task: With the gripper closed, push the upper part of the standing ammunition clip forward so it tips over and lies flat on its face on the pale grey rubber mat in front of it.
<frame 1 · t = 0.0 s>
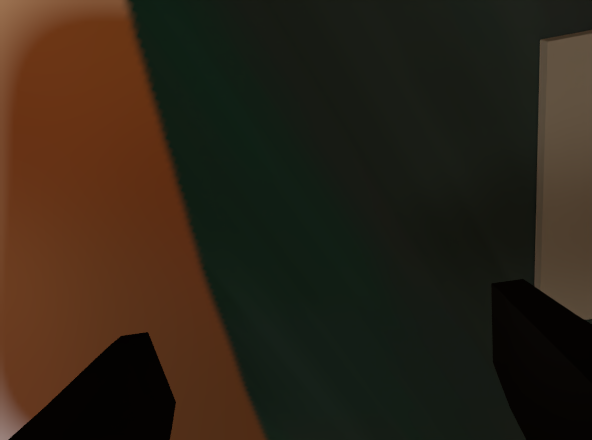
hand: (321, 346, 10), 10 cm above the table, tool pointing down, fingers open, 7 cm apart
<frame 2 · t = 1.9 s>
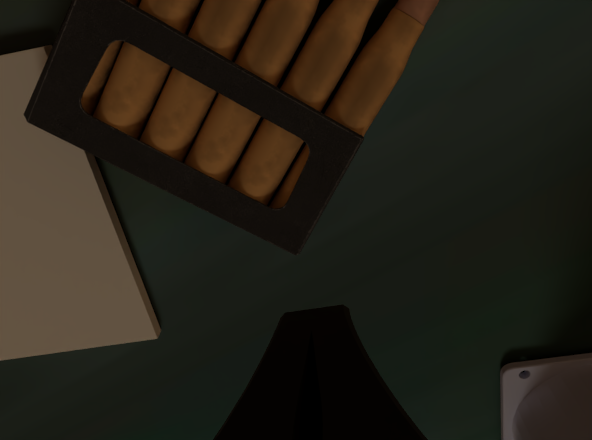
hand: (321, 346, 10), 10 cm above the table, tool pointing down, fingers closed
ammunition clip: (171, 188, 19), point 1 cm above the table, touching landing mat
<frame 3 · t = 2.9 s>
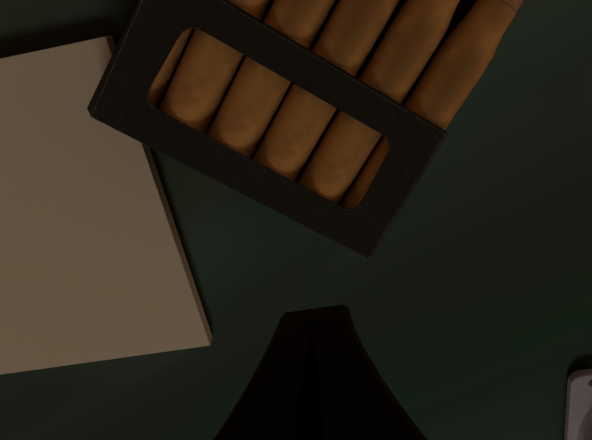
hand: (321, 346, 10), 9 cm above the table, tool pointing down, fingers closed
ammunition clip: (236, 187, 18), point 1 cm above the table, touching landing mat
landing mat: (28, 231, 20), on the table
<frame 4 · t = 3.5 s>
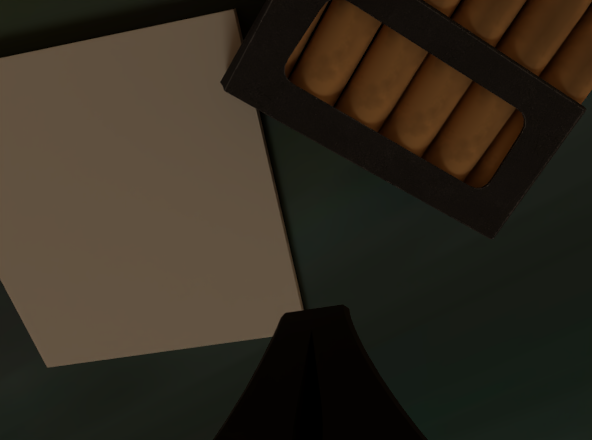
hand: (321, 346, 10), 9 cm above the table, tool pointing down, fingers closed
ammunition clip: (358, 166, 17), point 1 cm above the table, touching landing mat
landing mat: (128, 213, 20), on the table
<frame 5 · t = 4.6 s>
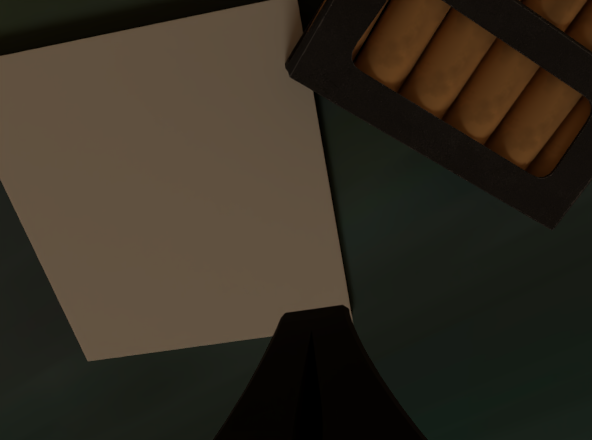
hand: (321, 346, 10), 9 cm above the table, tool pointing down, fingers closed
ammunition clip: (417, 155, 17), point 1 cm above the table, touching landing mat
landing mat: (177, 204, 19), on the table
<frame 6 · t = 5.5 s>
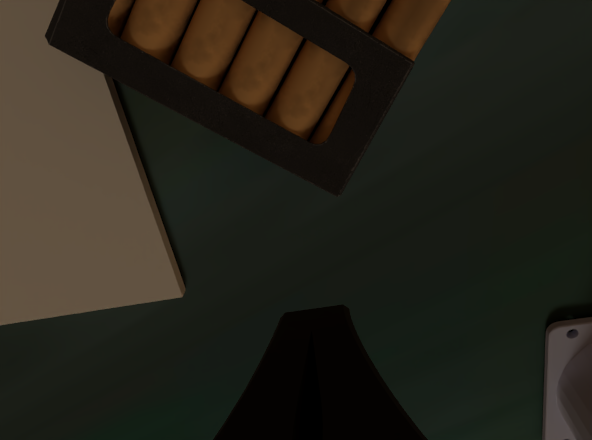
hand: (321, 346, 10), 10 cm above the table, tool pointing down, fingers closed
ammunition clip: (202, 124, 17), point 1 cm above the table, touching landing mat
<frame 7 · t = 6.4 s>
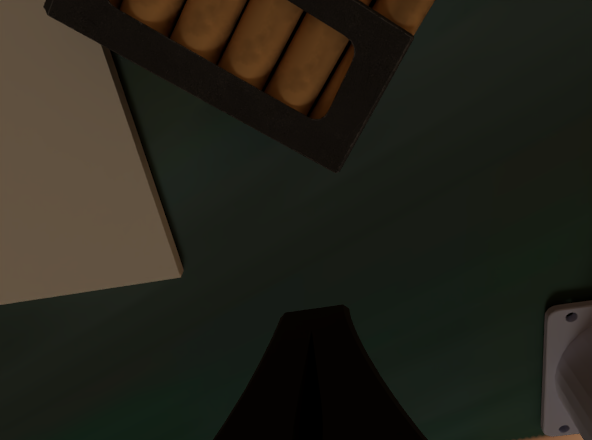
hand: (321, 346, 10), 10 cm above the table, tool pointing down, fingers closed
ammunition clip: (201, 99, 17), point 1 cm above the table, touching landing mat
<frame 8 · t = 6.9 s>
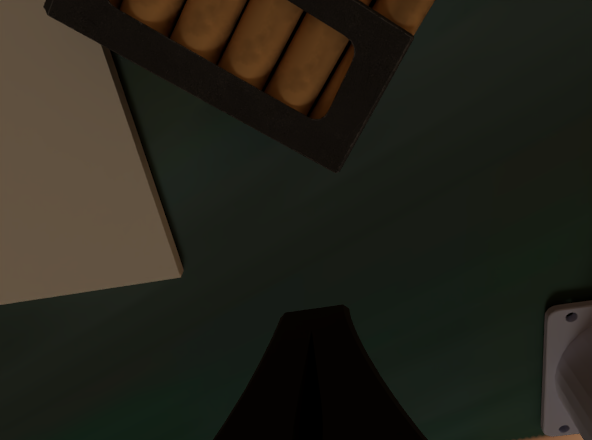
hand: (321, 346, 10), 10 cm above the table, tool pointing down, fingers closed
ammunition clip: (201, 99, 17), point 1 cm above the table, touching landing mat
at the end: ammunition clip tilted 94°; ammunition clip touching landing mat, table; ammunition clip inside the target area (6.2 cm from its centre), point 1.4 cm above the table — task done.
